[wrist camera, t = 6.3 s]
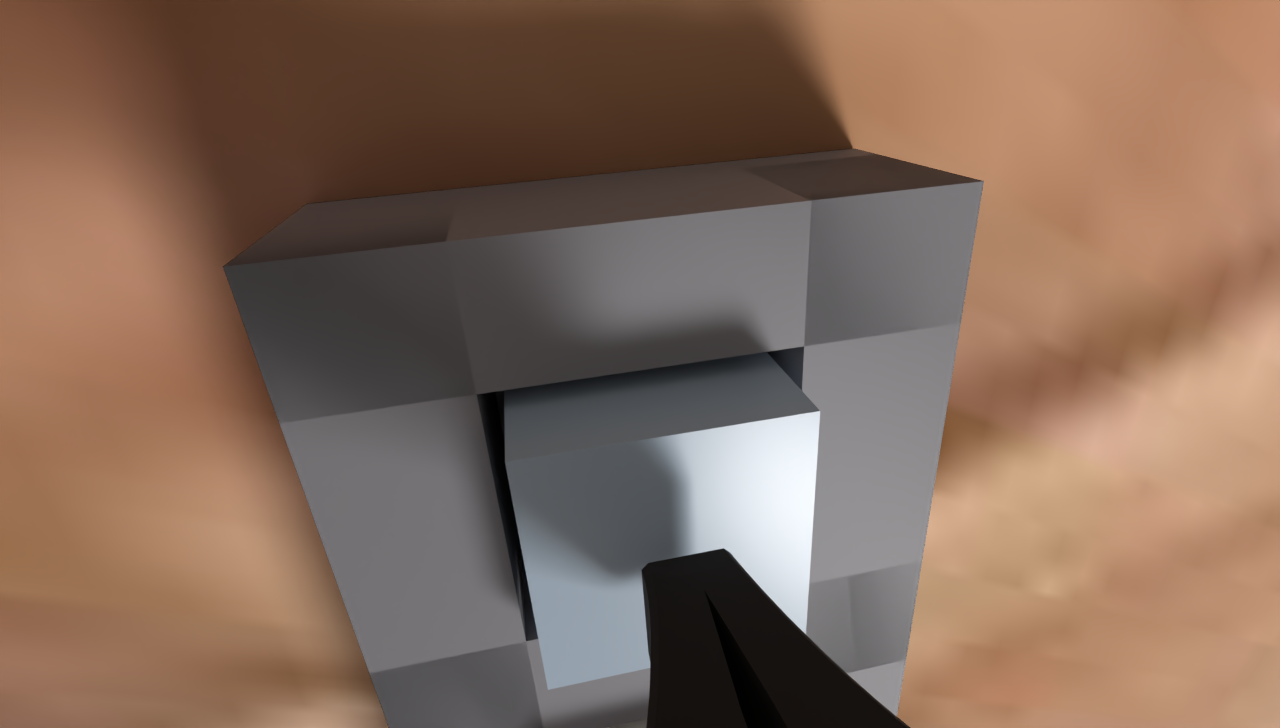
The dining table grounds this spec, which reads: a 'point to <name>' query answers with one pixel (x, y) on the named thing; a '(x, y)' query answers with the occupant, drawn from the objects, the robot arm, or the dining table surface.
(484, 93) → the dining table surface
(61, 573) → the dining table surface
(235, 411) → the dining table surface
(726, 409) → the slate key
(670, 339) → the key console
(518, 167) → the dining table surface
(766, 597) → the robot arm
